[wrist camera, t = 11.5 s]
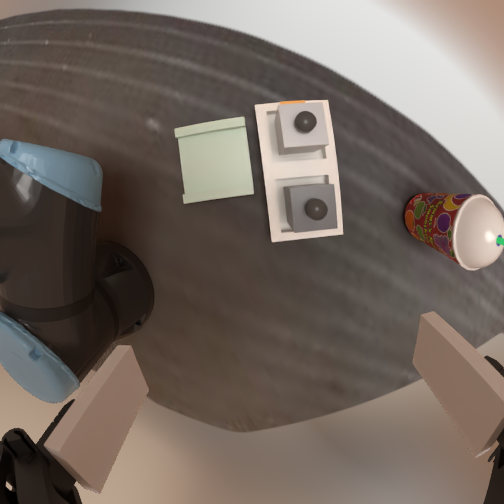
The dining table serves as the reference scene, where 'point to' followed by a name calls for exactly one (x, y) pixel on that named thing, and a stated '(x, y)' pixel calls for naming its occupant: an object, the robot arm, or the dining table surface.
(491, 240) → the smoothie
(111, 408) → the robot arm
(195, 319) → the dining table surface
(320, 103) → the plug
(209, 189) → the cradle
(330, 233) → the cream rectangular tray
